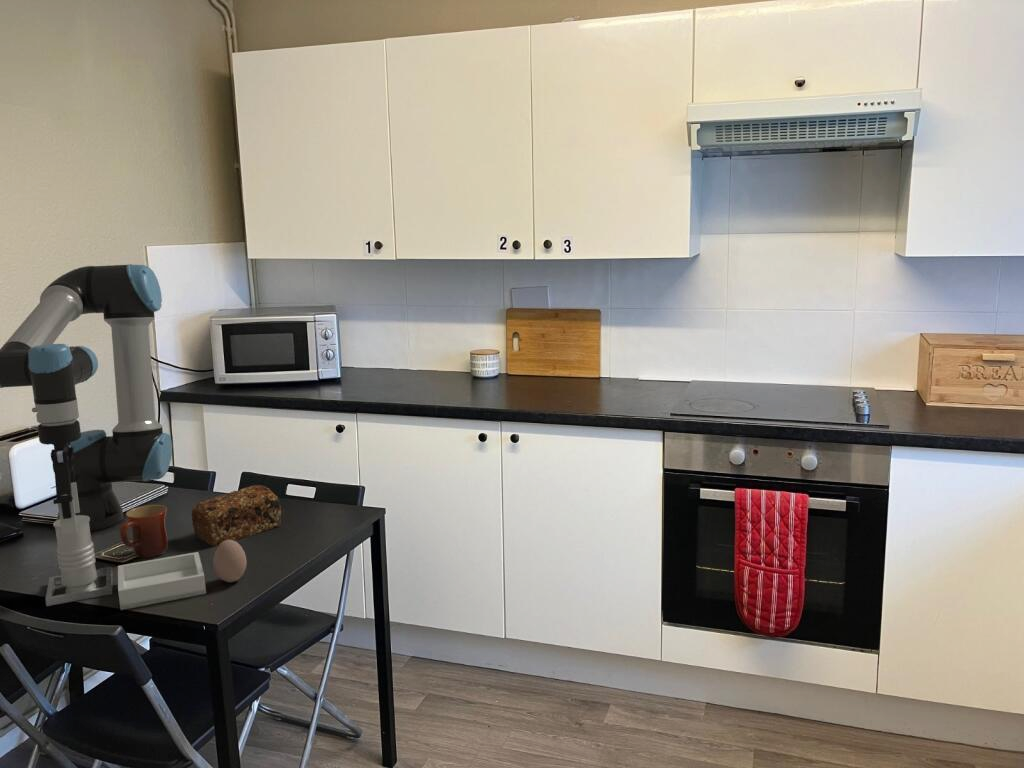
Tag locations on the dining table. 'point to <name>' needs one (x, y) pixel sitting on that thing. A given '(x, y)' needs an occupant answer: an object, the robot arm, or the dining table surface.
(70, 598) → the grey square frame
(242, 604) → the dining table surface
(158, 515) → the mug
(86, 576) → the grey tall round piece
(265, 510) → the bread
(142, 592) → the bin
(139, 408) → the robot arm
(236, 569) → the egg
